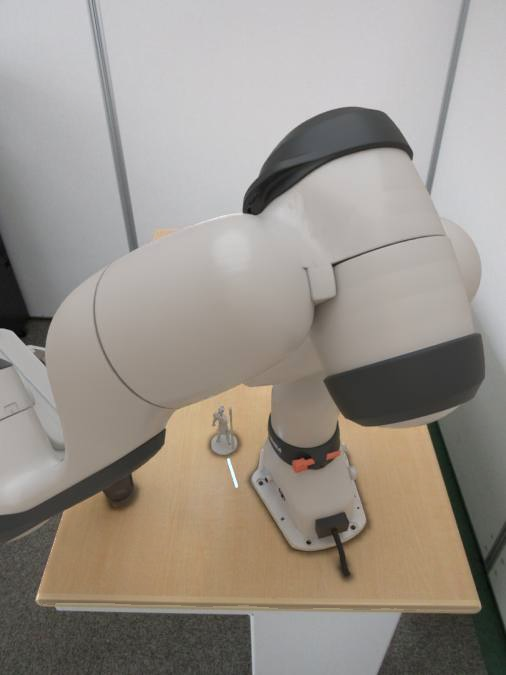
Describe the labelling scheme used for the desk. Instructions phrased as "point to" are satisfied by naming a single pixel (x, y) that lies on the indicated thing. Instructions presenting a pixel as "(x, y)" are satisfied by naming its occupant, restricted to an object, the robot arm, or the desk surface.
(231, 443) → the figurine
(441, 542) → the desk surface
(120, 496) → the beverage cup
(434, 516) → the desk surface
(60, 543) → the desk surface
